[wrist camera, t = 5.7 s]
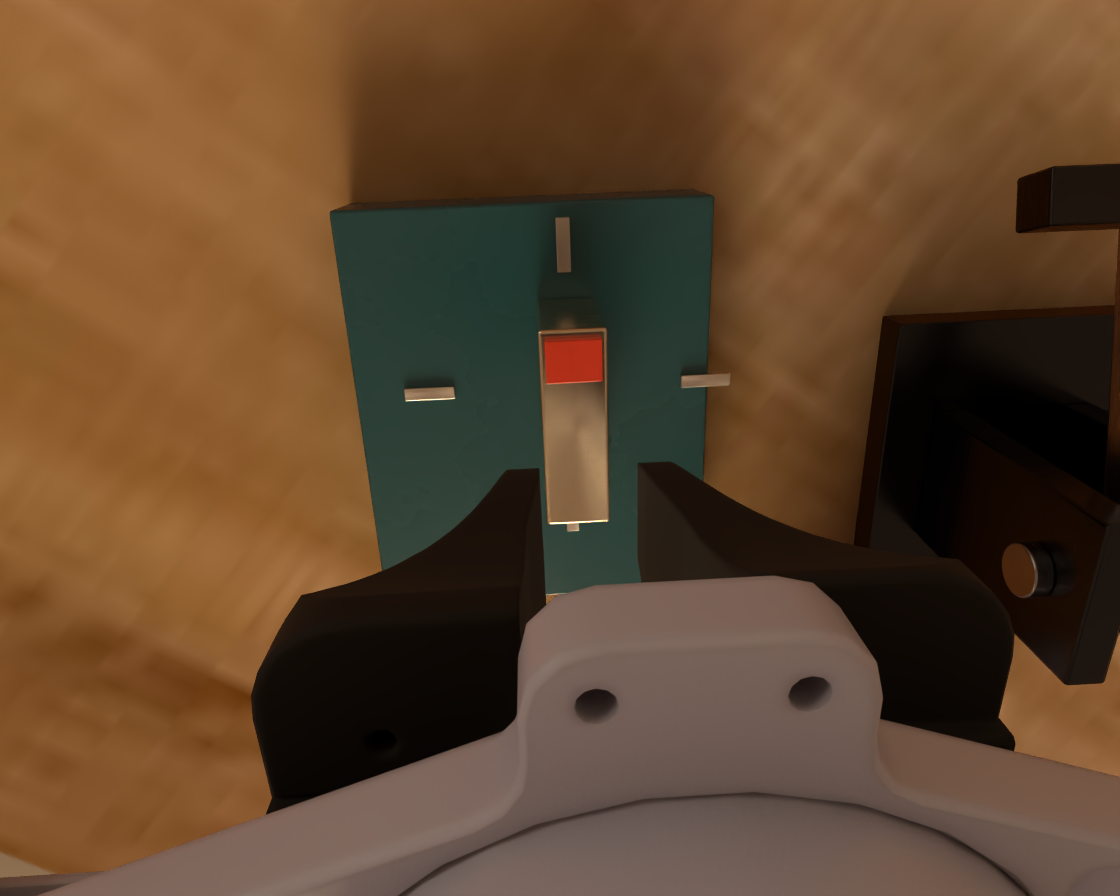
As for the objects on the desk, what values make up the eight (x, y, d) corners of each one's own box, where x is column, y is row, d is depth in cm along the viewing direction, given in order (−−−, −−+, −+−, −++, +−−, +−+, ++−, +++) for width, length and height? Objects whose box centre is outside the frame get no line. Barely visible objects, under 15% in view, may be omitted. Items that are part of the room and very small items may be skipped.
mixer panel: (701, 547, 26) (719, 590, 24) (398, 564, 26) (385, 608, 24) (715, 187, 22) (739, 194, 19) (349, 202, 22) (326, 211, 19)
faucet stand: (882, 315, 24) (1069, 408, 15) (1132, 304, 24) (1449, 390, 16) (847, 588, 27) (983, 778, 19) (1063, 576, 28) (1288, 759, 19)
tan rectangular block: (597, 465, 22) (611, 527, 19) (543, 468, 22) (547, 530, 19) (594, 296, 20) (608, 329, 17) (535, 299, 20) (537, 333, 17)
